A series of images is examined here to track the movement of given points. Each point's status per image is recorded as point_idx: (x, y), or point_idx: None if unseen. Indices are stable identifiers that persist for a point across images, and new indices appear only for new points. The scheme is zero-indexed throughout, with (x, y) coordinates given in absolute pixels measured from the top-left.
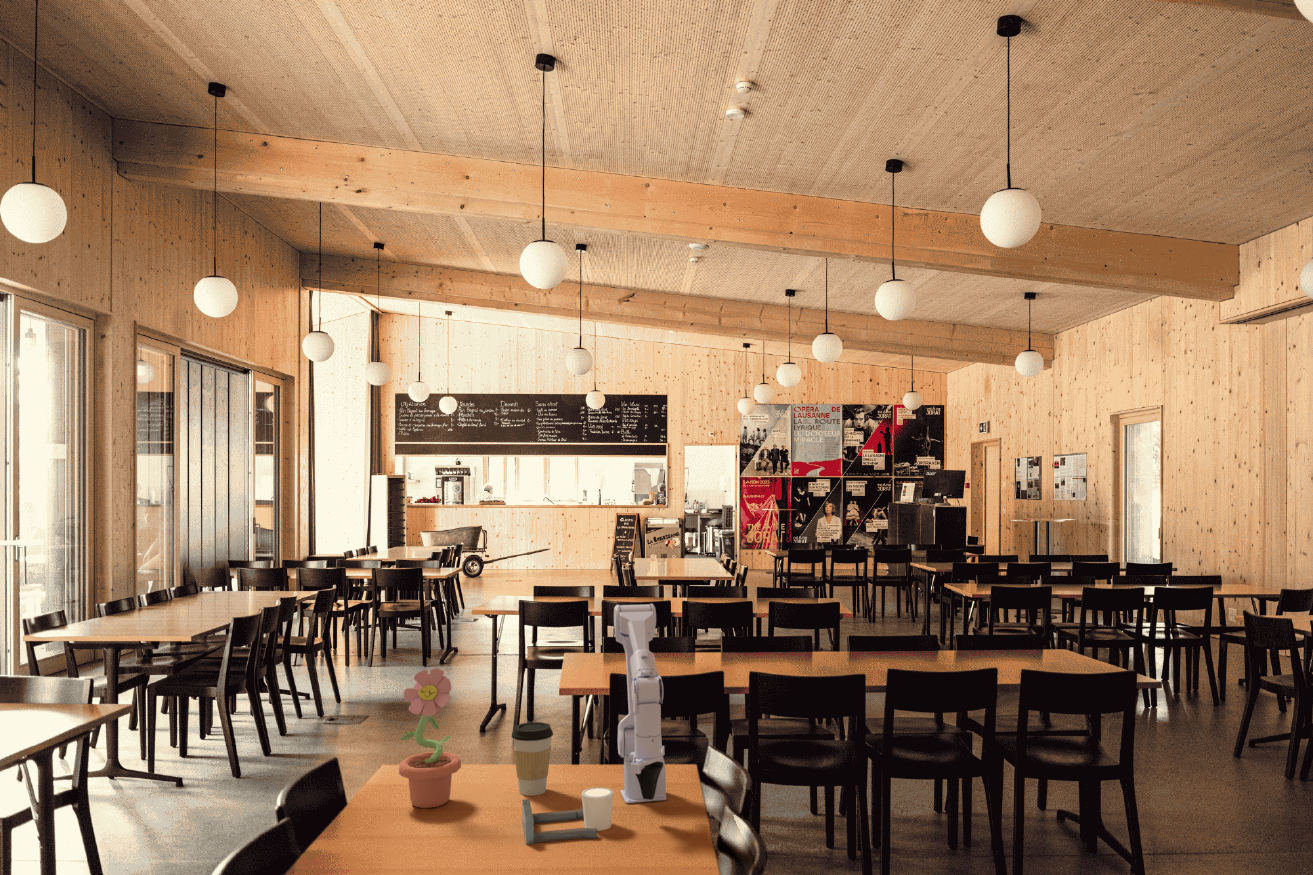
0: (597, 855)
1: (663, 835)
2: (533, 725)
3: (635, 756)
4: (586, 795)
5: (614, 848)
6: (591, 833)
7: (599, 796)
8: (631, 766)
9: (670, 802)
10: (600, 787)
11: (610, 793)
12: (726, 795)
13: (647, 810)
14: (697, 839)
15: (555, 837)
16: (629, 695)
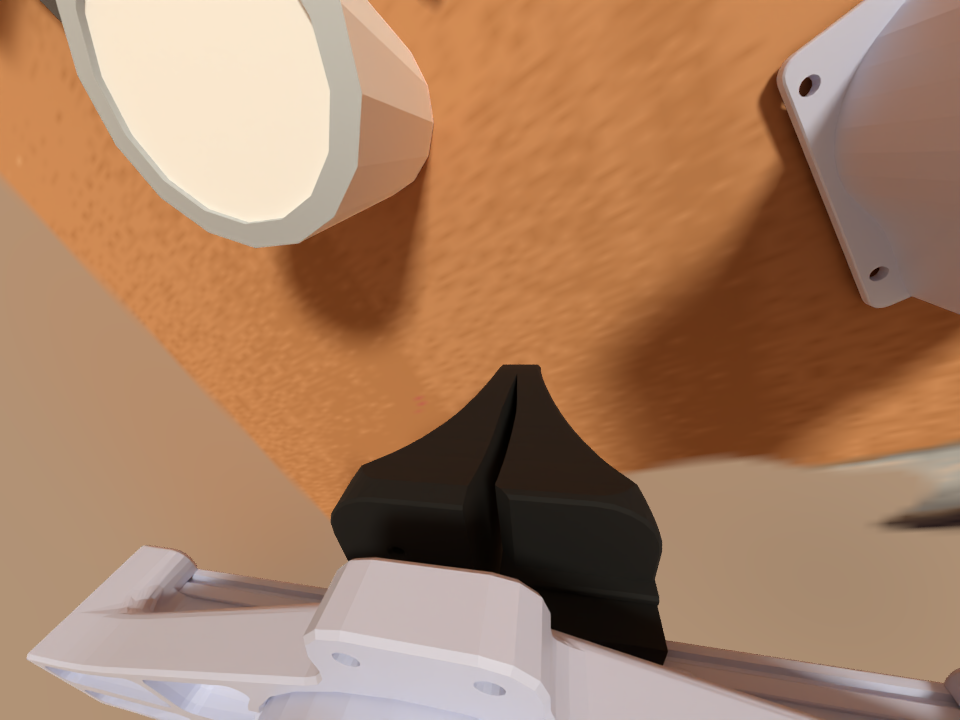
0: (174, 294)
1: (429, 420)
2: None
3: (270, 692)
4: (76, 23)
5: (249, 320)
6: None
7: (175, 167)
8: (70, 625)
9: (827, 333)
10: (318, 6)
11: (271, 228)
12: (949, 519)
13: (669, 269)
14: None
15: None
16: None
